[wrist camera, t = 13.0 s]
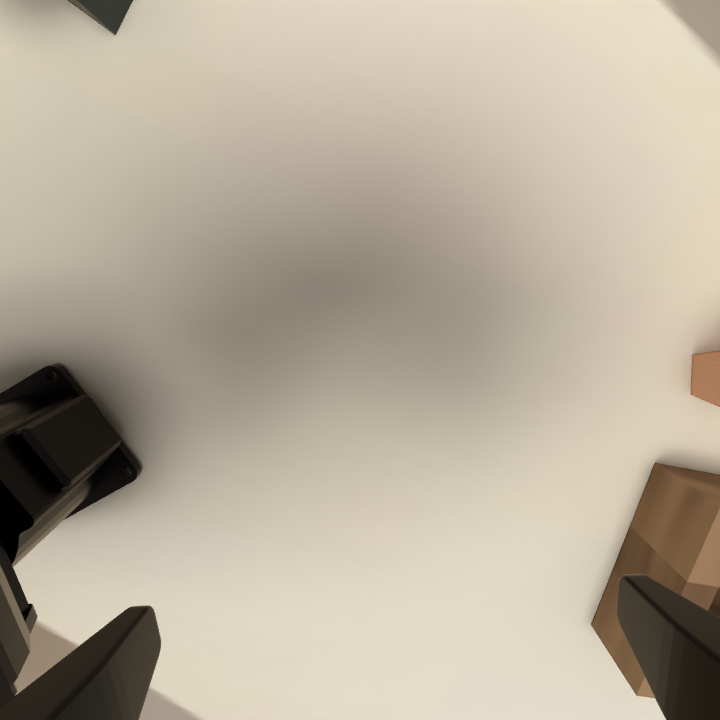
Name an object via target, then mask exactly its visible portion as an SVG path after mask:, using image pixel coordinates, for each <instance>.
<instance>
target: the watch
mask: <svg viewBox="0 0 720 720" xmlns="http://www.w3.org/2000/svg"><path fill="white" fill-rule="evenodd" d="M68 1H69V2H71V3H72V4H74V5H75V6H76V7H78V8H79V9H80V10H82V11H83V12H84V13H86V14H87V15H89V16H90V17H91V18H93V19H94V20H95V21H97V22H98V23H99V24H101V25H102V26H104V27H105V28H106V29H108V30H109V31H110V32H112V33H113V34H114V35H115V34H116V32H117V31H118V29H119V27H120V25H121V23H122V21H123V19H124V17H125V15H126V13H127V11H128V9H129V7H130V5H131V3H132V1H133V0H68Z"/></svg>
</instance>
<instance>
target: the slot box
mask: <svg viewBox="0 0 720 720" xmlns="http://www.w3.org/2000/svg"><path fill="white" fill-rule="evenodd" d="M628 574H644V575H646V576H648V577H650V578H652V579H654V580H655V581H657V582H659V583H661V584H662V585H664V586H666V587H668V588H669V589H671V590H673V591H674V592H676V593H678V594H680V595H681V596H683V597H685V598H687V599H688V600H690V601H692V602H694V603H695V604H697V605H699V606H700V607H702V608H704V609H706V610H707V611H709V612H711V613H713V614H714V615H716V616H718V617H720V475H717V474H711V473H706V472H700V471H695V470H689V469H684V468H679V467H673V466H668V465H662V464H657V463H655V465H654V468H653V470H652V473H651V475H650V478H649V480H648V483H647V486H646V488H645V491H644V493H643V496H642V498H641V501H640V503H639V506H638V508H637V511H636V513H635V516H634V518H633V521H632V524H631V526H630V529H629V531H628V534H627V536H626V539H625V541H624V544H623V546H622V549H621V551H620V554H619V556H618V559H617V562H616V564H615V567H614V569H613V572H612V574H611V577H610V579H609V582H608V584H607V587H606V589H605V592H604V595H603V597H602V600H601V602H600V605H599V607H598V610H597V612H596V615H595V617H594V620H593V622H592V627H593V629H594V630H595V632H596V633H597V635H598V636H599V638H600V639H601V641H602V642H603V644H604V646H605V647H606V649H607V650H608V652H609V653H610V655H611V656H612V658H613V660H614V661H615V663H616V664H617V666H618V667H619V669H620V670H621V672H622V674H623V675H624V677H625V678H626V680H627V681H628V683H629V684H630V686H631V688H632V689H633V691H634V692H635V694H636V695H637V696H643V697H650V698H655V697H654V695H653V693H652V691H651V688H650V686H649V684H648V682H647V680H646V678H645V676H644V674H643V672H642V670H641V668H640V666H639V664H638V661H637V659H636V657H635V655H634V653H633V651H632V649H631V647H630V645H629V643H628V641H627V639H626V637H625V634H624V632H623V630H622V628H621V626H620V624H619V621H618V618H617V610H616V608H617V596H618V583H619V579H620V577H621V576H622V575H628Z"/></svg>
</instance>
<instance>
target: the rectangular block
mask: <svg viewBox="0 0 720 720" xmlns="http://www.w3.org/2000/svg"><path fill="white" fill-rule="evenodd" d="M691 395H693V396H695V397H697V398H700V399H702V400H704V401H707V402H709V403H711V404H714V405H716V406H719V407H720V351H716V352H709V353H703V354H696V355H693V357H692V382H691Z"/></svg>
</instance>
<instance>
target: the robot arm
mask: <svg viewBox="0 0 720 720" xmlns="http://www.w3.org/2000/svg"><path fill="white" fill-rule="evenodd" d="M52 371H53V372H55V373H56V374H57V376H58V379H55V378H54V377H53V376H52ZM125 468H128V469H130V470H131V471H132V474H130V473H128V472H126V470H125ZM140 473H141V467H140V465H139V463H138V462H137V461H136V459H135V458H134V457H133V456H132V454H131V453H130V452H129V450H128V449H127V448H126V446H125V445H124V444H123V442H122V441H121V438H120V437H119V435H118V434H117V433H116V431H115V430H114V429H113V428H112V426H111V425H110V424H109V422H108V421H107V420H106V418H105V417H104V416H103V414H102V413H101V412H100V410H99V409H98V408H97V407H96V405H95V404H94V403H93V401H92V400H91V399H90V398H89V397H87V395H86V394H85V393H84V391H83V390H82V389H81V387H80V386H79V385H78V383H77V382H76V381H75V379H74V378H73V377H72V376H71V374H70V373H69V372H68V370H67V369H66V368H65V367H64V366H63V365H60V364H52V365H49V366H46V367H44V368H42V369H41V370H39V371H37V372H36V373H34V374H32V375H31V376H29V377H27V378H26V379H24V380H22V381H21V382H19V383H17V384H16V385H14V386H12V387H11V388H9V389H7V390H6V391H4V392H2V393H1V394H0V720H139V717H140V714H141V711H142V708H143V705H144V701H145V698H146V695H147V692H148V689H149V686H150V682H151V679H152V676H153V673H154V670H155V666H156V663H157V660H158V657H159V653H160V649H161V638H160V633H159V629H158V625H157V620H156V616H155V612H154V609H153V608H152V607H151V606H133V607H130V608H128V609H126V610H125V611H124V612H122V613H121V614H120V615H118V616H117V617H116V618H115V619H113V620H112V621H111V622H109V623H108V624H107V625H106V626H104V627H103V628H102V629H101V630H99V631H98V632H97V633H95V634H94V635H93V636H92V637H90V638H89V639H88V640H86V641H85V642H84V643H83V644H81V645H80V646H79V647H77V648H76V649H75V650H74V651H72V652H71V653H70V654H68V655H67V656H66V657H65V658H63V659H62V660H61V661H59V662H58V663H57V664H56V665H54V666H53V667H52V668H51V669H49V670H48V671H47V672H45V673H44V674H43V675H42V676H40V677H39V678H38V679H36V680H35V681H34V682H33V683H31V684H30V685H29V686H27V687H26V688H25V689H24V690H22V691H21V692H20V693H19V694H17V695H16V696H15V694H16V692H17V687H16V685H15V683H14V682H15V680H16V679H17V678H18V675H19V673H20V671H21V669H22V667H23V665H24V663H25V661H26V659H27V657H28V654H29V652H30V633H31V631H32V629H33V626H34V624H35V622H36V619H37V614H36V611H35V609H34V607H33V605H32V604H28V602H27V600H26V597H25V595H24V592H23V590H22V588H21V585H20V583H19V581H18V578H17V576H16V574H15V571H14V569H13V567H14V566H15V565H16V564H17V563H18V562H19V561H20V560H21V559H22V558H23V557H25V556H26V555H27V554H28V553H29V552H30V551H31V550H32V549H33V548H34V547H35V546H36V545H37V544H38V543H39V542H40V541H41V540H42V539H44V538H45V537H46V536H47V535H48V534H49V533H50V532H51V531H52V530H53V529H54V528H55V527H56V526H57V525H58V524H59V523H60V522H61V521H63V520H64V519H66V518H68V517H70V516H71V515H73V514H75V513H77V512H79V511H80V510H82V509H84V508H86V507H88V506H89V505H91V504H93V503H95V502H97V501H98V500H100V499H102V498H104V497H106V496H107V495H109V494H111V493H113V492H115V491H116V490H118V489H120V488H122V487H124V486H125V485H127V484H129V483H131V482H133V481H134V480H135V479H136V478H137V477H138V476H139V475H140ZM616 610H617V618H618V621H619V624H620V626H621V628H622V630H623V632H624V634H625V637H626V639H627V641H628V643H629V645H630V647H631V649H632V651H633V653H634V655H635V657H636V659H637V661H638V664H639V666H640V668H641V670H642V672H643V674H644V676H645V678H646V680H647V682H648V684H649V686H650V688H651V691H652V693H653V695H654V697H655V699H656V701H657V703H658V705H659V707H660V709H661V711H662V713H663V714H664V716H665V718H666V720H720V617H718V616H716V615H714V614H713V613H711V612H709V611H707V610H706V609H704V608H702V607H700V606H699V605H697V604H695V603H694V602H692V601H690V600H688V599H687V598H685V597H683V596H681V595H680V594H678V593H676V592H674V591H673V590H671V589H669V588H668V587H666V586H664V585H662V584H661V583H659V582H657V581H655V580H654V579H652V578H650V577H648V576H646V575H644V574H628V575H622V576H621V577H620V579H619V583H618V596H617V608H616ZM14 696H15V697H14Z"/></svg>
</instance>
